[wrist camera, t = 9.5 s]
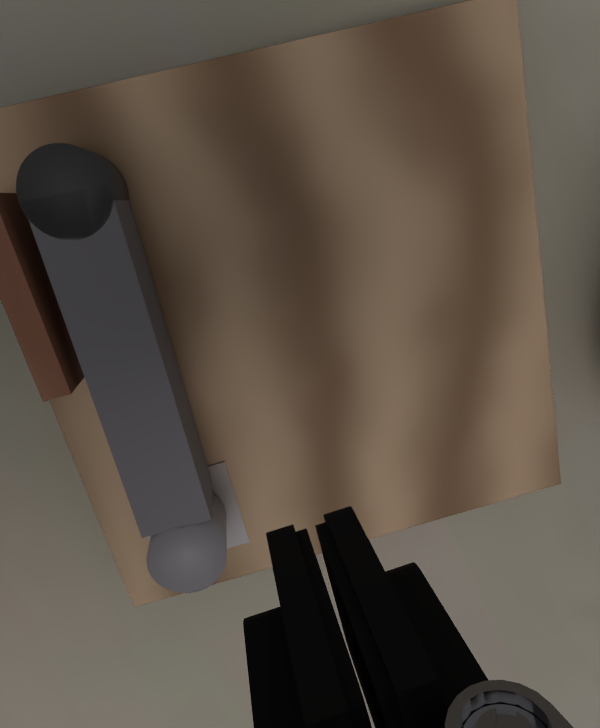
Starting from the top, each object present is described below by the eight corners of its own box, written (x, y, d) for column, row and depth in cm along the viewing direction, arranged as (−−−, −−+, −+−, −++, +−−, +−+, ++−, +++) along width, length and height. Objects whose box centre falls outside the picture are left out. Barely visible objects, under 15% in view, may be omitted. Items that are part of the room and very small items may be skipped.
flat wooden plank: (140, 579, 28) (121, 666, 23) (-39, 129, 21) (-125, 105, 16) (538, 465, 29) (607, 522, 24) (491, 7, 23) (573, -51, 17)
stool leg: (233, 538, 25) (234, 580, 23) (166, 556, 25) (159, 601, 22) (117, 143, 20) (100, 133, 17) (30, 161, 20) (-2, 154, 17)
